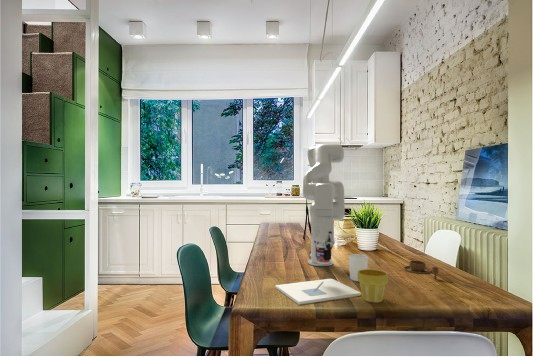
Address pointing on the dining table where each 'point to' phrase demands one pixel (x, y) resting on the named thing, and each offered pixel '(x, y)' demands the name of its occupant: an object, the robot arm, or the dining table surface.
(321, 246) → the pill bottle
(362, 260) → the white cup
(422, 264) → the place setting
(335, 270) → the dining table surface
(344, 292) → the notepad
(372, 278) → the plant pot
